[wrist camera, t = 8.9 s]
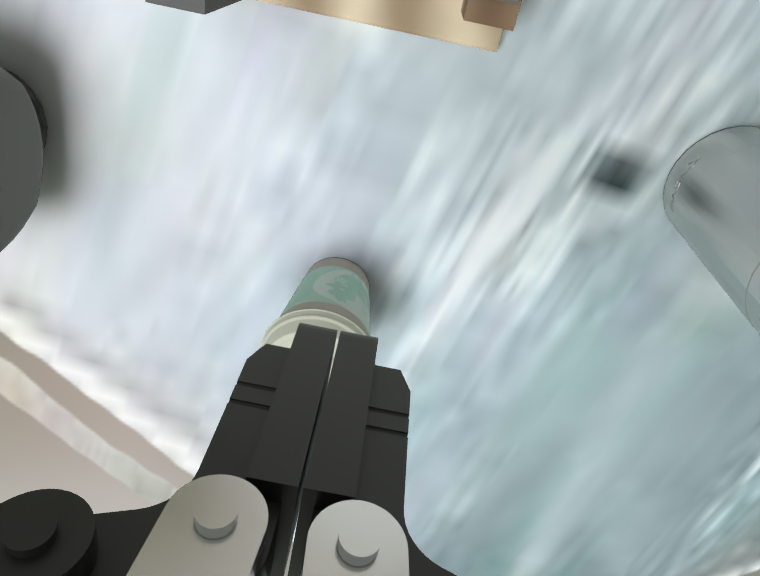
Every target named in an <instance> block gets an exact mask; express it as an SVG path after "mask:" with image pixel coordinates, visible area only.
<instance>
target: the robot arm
mask: <svg viewBox="0 0 760 576" xmlns="http://www.w3.org/2000/svg"><path fill="white" fill-rule="evenodd" d="M663 200H664V209H665V211H666V214H667V216H668V218H669V220H670V221H671V222H672V224H673V225H674V226H675V228H676V229H677V230H678V231H679V233H680V234H681V235H682V237H683V238H684V239H685V241H686V242H687V243H688V245H689V246H690V247H691V249H692V250H693V251H694V252H695V254H696V255H697V256H698V258H699V259H700V260H701V261H702V263H703V264H704V265H705V266H706V268H707V269H708V270H709V272H710V273H711V274H712V275H713V277H714V278H715V279H716V280H717V282H718V283H719V284H720V285H721V287H722V288H723V289H724V291H725V292H726V293H727V294H728V296H729V297H730V298H731V299H732V301H733V302H734V303H735V304H736V306H737V307H738V308H739V310H740V311H741V312H742V313H743V315H744V316H745V317H746V318H747V320H748V321H749V322H750V323H751V325H752V326H753V327H754V328H755V329H756V331H757V332H758V333H759V335H760V128H758V127H746V126H740V127H734V128H729V129H724V130H722V131H719V132H716V133H714V134H711V135H709V136H707V137H706V138H704V139H702V140H700V141H699V142H697V143H696V144H695V145H693V146H692V147H691V148H690V149H688V150H687V151H686V152H685V153H684V154H683V155H682V156H681V158H680V159H679V160H678V161H677V162H676V164H675V165H674V167H673V169H672V170H671V172H670V173H669V176H668V179H667V181H666V184H665V188H664V195H663ZM337 331H338V330H335V329H330V328H325V327H320V326H315V325H310V324H305V323H299V325H298V328H297V331H296V334H295V337H294V339H293V342H292V345H291V348H286V347H281V346H276V345H271V344H265V345H264V346H262V347H261V348H260V349H259V350H258V351H256V352H255V353H254V354H253V355H252V356H250V357H249V358H248V359H247V360H246V363H245V365H244V367H243V369H242V372H241V374H240V376H239V379H238V382H237V385H235V388H234V390H233V392H232V395H231V397H230V401H229V403H228V404H227V406H226V408H225V411H224V413H223V415H222V417H221V420H220V422H219V424H218V426H217V429H216V431H215V433H214V436H213V438H212V440H211V442H210V445H209V447H208V449H207V452H206V454H205V456H204V458H203V461H202V463H201V465H200V468H199V470H198V472H197V473H196V475H195V477H194V478H193V480H192V481H191V482H189V483H187V484H186V485H184V486H183V487H181V488H180V489H179V490H177V492H176V493H175V494H174V495H173V496H172V497H171V498H170V499H168V500H167V501H164V502H162V503H160V504H157V505H154V506H151V507H147V508H142V509H137V510H128V511H119V512H109V513H100V514H93V511H92V509H91V508H90V506H89V505H88V503H87V502H86V501H85V500H84V499H83V498H81V497H80V496H78V495H76V494H74V493H72V492H69V491H64V490H60V489H41V490H35V491H30V492H27V493H24V494H21V495H18V496H16V497H13V498H11V499H9V500H7V501H5V502H3V503H0V576H284V573H285V568H286V564H287V560H288V556H289V552H290V547H291V543H292V539H293V535H294V530H295V526H296V522H297V527H296V532H295V538H294V544H293V549H292V555H291V561H290V566H289V572H288V576H456V575H454V574H453V573H451V572H449V571H447V570H445V569H443V568H441V567H440V566H438V565H437V564H435V563H433V562H432V561H431V560H430V559H429V558H427V557H426V556H425V555H424V554H423V553H422V552H421V551H420V550H419V549H418V547H417V546H416V545H415V543H414V542H413V540H412V538H411V537H410V535H409V533H408V530H407V527H406V525H405V519H404V494H405V477H406V459H407V442H408V438H407V435H408V425H409V419H408V417H409V408H410V390H409V388H408V385H407V383H406V381H405V379H404V377H403V375H402V372H401V370H397V369H392V368H387V367H382V366H377V365H375V358H376V351H377V344H378V338H376V337H371V336H366V335H361V334H356V333H351V332H346V331H341V332H340V336H339V340H338V344H337V348H336V353H335V357H334V361H333V365H332V359H333V354H334V348H335V343H336V337H337ZM331 365H332V369H331ZM330 370H331V374H330ZM329 376H330V378H329ZM328 381H329V382H328ZM298 513H299V515H298ZM297 518H298V521H297Z"/></svg>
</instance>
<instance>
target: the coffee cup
mask: <svg viewBox="0 0 760 576" xmlns="http://www.w3.org/2000/svg"><path fill="white" fill-rule="evenodd" d="M299 323H305V324H310V325H315V326H320V327H325V328H330V329H335V330H338V331H337V337H336V343H335V348H334V354H333V359H332V365H333V361H334V357H335V353H336V348H337V344H338V340H339V336H340V332H341V331H346V332H351V333H356V334H361V335H366V336H370V296H369V282H368V279H367V276H366V275H365V273H364V272H363V270H362V269H361V268H360V267H359V266H357V265H356V264H354V263H353V262H351V261H349V260H346V259H342V258H327V259H323V260H321V261H319V262H317V263H315V264H314V265H313V266H312V267H311V268H310V270H309V271H308V273H307V274H306V276H305V277H304V279H303V280H302V282H301V284H300V285H299V287H298V288H297V290H296V292H295V293H294V295H293V296H292V298H291V300H290V301H289V303H288V304H287V306H286V308H285V309H284V311H283V313H282V314H281V316H280V317H279V318H278V319H277V320H276V321H274V322H273V323H272V324H271V325H270V327H269V328H268V329H267V331H266V333H265V335H264V338H263V341H262V346H264V345H265V344H271V345H276V346H281V347H286V348H291V345H292V342H293V339H294V337H295V334H296V331H297V328H298V325H299ZM332 365H331V369H332ZM330 374H331V370H330ZM329 378H330V376H329ZM328 382H329V381H328Z"/></svg>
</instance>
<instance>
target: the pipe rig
mask: <svg viewBox="0 0 760 576" xmlns="http://www.w3.org/2000/svg"><path fill="white" fill-rule="evenodd" d="M257 1H262V2H266V3H271V4H276V5H280V6H285V7H289V8H294V9H299V10H303V11H308V12H313V13H317V14H322V15H326V16H331V17H336V18H340V19H345V20H350V21H354V22H359V23H364V24H368V25H373V26H377V27H382V28H387V29H391V30H396V31H401V32H405V33H410V34H415V35H419V36H424V37H428V38H433V39H438V40H442V41H447V42H452V43H456V44H461V45H466V46H470V47H475V48H479V49H484V50H489V51H493V52H497V48H498V45H499V41H500V38H501V34H502V30H503V29H506V30H510V31H513V29H514V26H515V23H516V19H517V16H518V12H519V9H520V5H521V2H522V0H257Z"/></svg>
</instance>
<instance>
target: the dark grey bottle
mask: <svg viewBox="0 0 760 576" xmlns="http://www.w3.org/2000/svg"><path fill="white" fill-rule="evenodd" d="M46 135H47V124H46V120H45V116H44V112H43V108H42V106H41V105H40V103H39V101H38V100H37V98H36V96H35V95H34V93H33V91H32V90H31V89H30V88H29V87H28V86H27V85H26V84H25V83H24V82H23V81H22V80H21V79H20V78H19V77H18V76H17V75H15V74H13V73H11V72H8V71H6V70H4V69H3V68H2V67H0V252H1V251H2V250H3V249H4V248H5V247H6V246H7V245H8V244H9V243H10V242H11V241H12V240H13V239H14V238H15V237H16V236H17V234H18V233H19V232H20V231H21V229H22V228H23V227H24V225H25V224H26V222H27V220H28V219H29V217H30V215H31V214H32V212H33V210H34V209H35V207H36V205H37V201H38V197H39V191H40V185H41V179H42V169H43V148H44V147H45V144H46Z"/></svg>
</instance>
